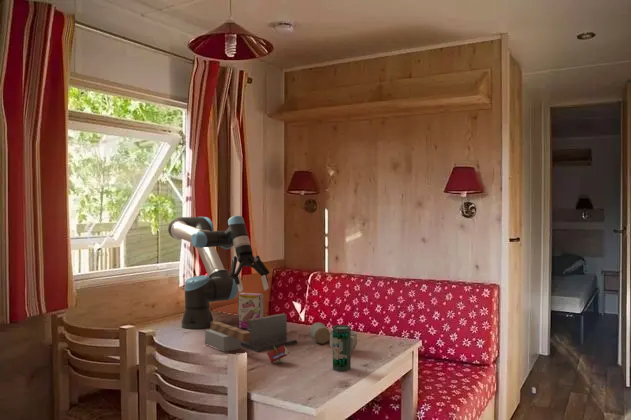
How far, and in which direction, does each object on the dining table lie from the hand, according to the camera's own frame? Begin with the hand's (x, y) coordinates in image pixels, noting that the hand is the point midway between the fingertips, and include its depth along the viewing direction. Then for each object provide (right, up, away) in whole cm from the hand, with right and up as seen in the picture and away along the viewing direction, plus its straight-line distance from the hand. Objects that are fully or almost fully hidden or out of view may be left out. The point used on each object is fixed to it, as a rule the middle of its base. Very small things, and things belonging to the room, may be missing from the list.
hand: (254, 290), depth 239 cm
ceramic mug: (+31, -20, -12) cm, 39 cm away
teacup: (+39, -21, -28) cm, 52 cm away
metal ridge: (+7, -20, -16) cm, 27 cm away
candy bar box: (-3, -20, +12) cm, 24 cm away
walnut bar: (-7, -14, -23) cm, 28 cm away
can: (+37, -21, -48) cm, 64 cm away
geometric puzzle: (+13, -21, -41) cm, 48 cm away
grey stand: (-11, -20, -19) cm, 30 cm away
